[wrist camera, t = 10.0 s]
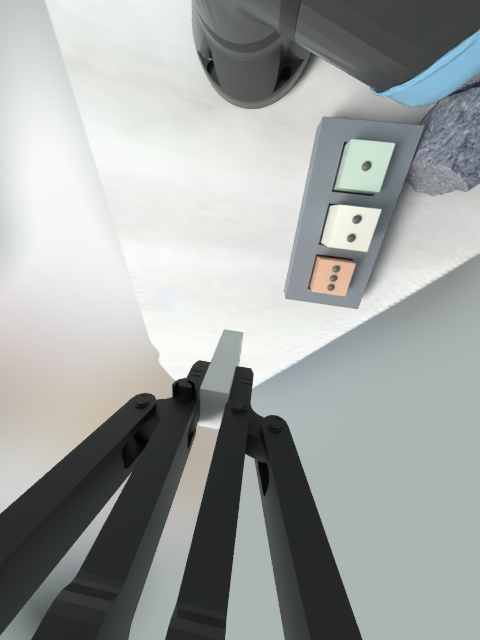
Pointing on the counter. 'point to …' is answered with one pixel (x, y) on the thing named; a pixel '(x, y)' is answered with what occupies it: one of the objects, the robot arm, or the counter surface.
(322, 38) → the robot arm
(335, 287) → the tile three
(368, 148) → the tile one
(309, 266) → the key board
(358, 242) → the tile two
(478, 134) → the stone
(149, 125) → the counter surface
